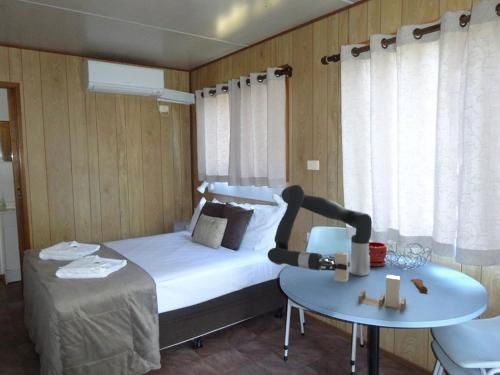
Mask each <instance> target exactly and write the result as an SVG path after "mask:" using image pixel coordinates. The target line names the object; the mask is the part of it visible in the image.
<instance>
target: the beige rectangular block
mask: <svg viewBox="0 0 500 375" xmlns="http://www.w3.org/2000/svg"><path fill="white" fill-rule="evenodd" d="M349 255H350V253H349V251H348V252H347V251H339V250H337V251H336V252H335V253H334V257H335V263H337V264H345V265H347V270H341V269H337V270H336V269H335V271H334V282H341V283H347V282H348V281H349V272H350V271H349V268H350V266H349V262H350V260H349V258H350V257H349Z"/></svg>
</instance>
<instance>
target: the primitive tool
mask: <svg viewBox="0 0 500 375" xmlns="http://www.w3.org/2000/svg"><path fill="white" fill-rule="evenodd" d="M410 279H411V280H410V281H411V282H412V283H413V282H414V283H413V284H414V285H415V286H416V287H417V288H418V292H419V293H420V292H421V293H420V294H427V293H428V291H429V290H428V287H426V286H425V285H424V284H423V280H422V279H420V278H417V279H414V278H410Z"/></svg>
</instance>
